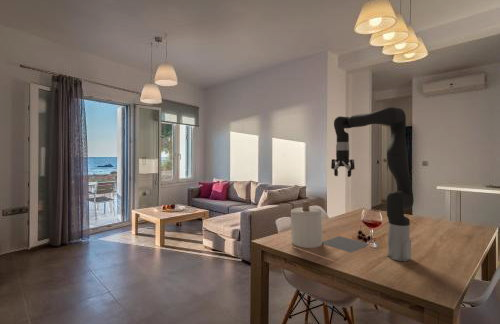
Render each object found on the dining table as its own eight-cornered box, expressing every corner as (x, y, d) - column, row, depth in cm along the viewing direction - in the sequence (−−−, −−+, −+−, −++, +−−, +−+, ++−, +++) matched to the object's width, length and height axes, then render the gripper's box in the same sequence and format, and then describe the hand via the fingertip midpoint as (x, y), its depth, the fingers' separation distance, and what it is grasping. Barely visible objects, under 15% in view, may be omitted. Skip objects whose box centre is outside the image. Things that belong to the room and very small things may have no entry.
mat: (370, 245, 155) (370, 244, 155) (351, 253, 142) (351, 252, 142) (339, 236, 170) (339, 236, 170) (319, 243, 158) (319, 242, 157)
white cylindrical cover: (328, 242, 157) (327, 201, 156) (309, 250, 146) (307, 205, 145) (305, 236, 170) (303, 198, 169) (285, 243, 159) (284, 202, 159)
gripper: (356, 149, 163) (356, 176, 163) (335, 149, 174) (335, 175, 174) (350, 149, 158) (350, 177, 159) (328, 149, 169) (328, 176, 169)
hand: (342, 176), depth 166 cm, fingers open, 8 cm apart
